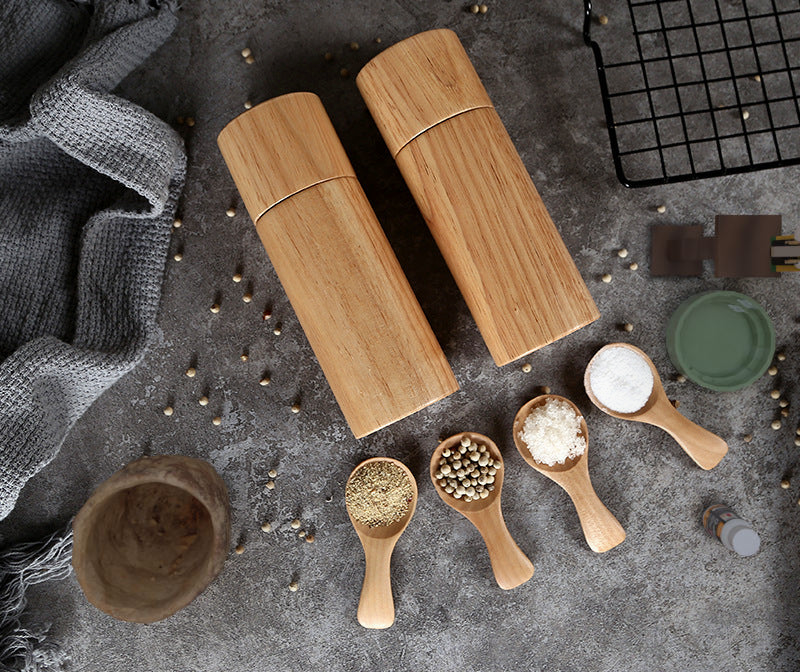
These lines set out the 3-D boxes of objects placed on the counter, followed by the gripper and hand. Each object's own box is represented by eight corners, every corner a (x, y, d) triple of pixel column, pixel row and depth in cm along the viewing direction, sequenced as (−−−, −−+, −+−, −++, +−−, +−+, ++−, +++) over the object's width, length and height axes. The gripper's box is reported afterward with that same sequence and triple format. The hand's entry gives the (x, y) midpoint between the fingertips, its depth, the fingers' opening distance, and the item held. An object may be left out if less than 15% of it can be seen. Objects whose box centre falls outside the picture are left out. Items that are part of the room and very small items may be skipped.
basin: (761, 290, 116) (776, 291, 112) (760, 386, 117) (775, 391, 112) (664, 290, 116) (675, 290, 112) (664, 386, 117) (674, 391, 112)
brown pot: (261, 547, 117) (223, 624, 92) (139, 554, 117) (68, 632, 92) (254, 425, 117) (214, 468, 92) (132, 431, 117) (59, 476, 92)
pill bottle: (697, 509, 117) (724, 531, 107) (726, 499, 117) (757, 520, 107) (707, 538, 117) (735, 564, 107) (736, 528, 117) (768, 552, 107)
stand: (699, 225, 116) (782, 214, 91) (699, 275, 116) (781, 277, 91) (650, 225, 116) (719, 214, 91) (650, 275, 116) (718, 277, 91)
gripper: (993, 211, 63) (860, 223, 82) (823, 211, 63) (728, 223, 82) (993, 287, 63) (859, 282, 82) (823, 287, 63) (727, 282, 82)
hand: (795, 252), depth 81 cm, fingers closed on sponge, 4 cm apart
